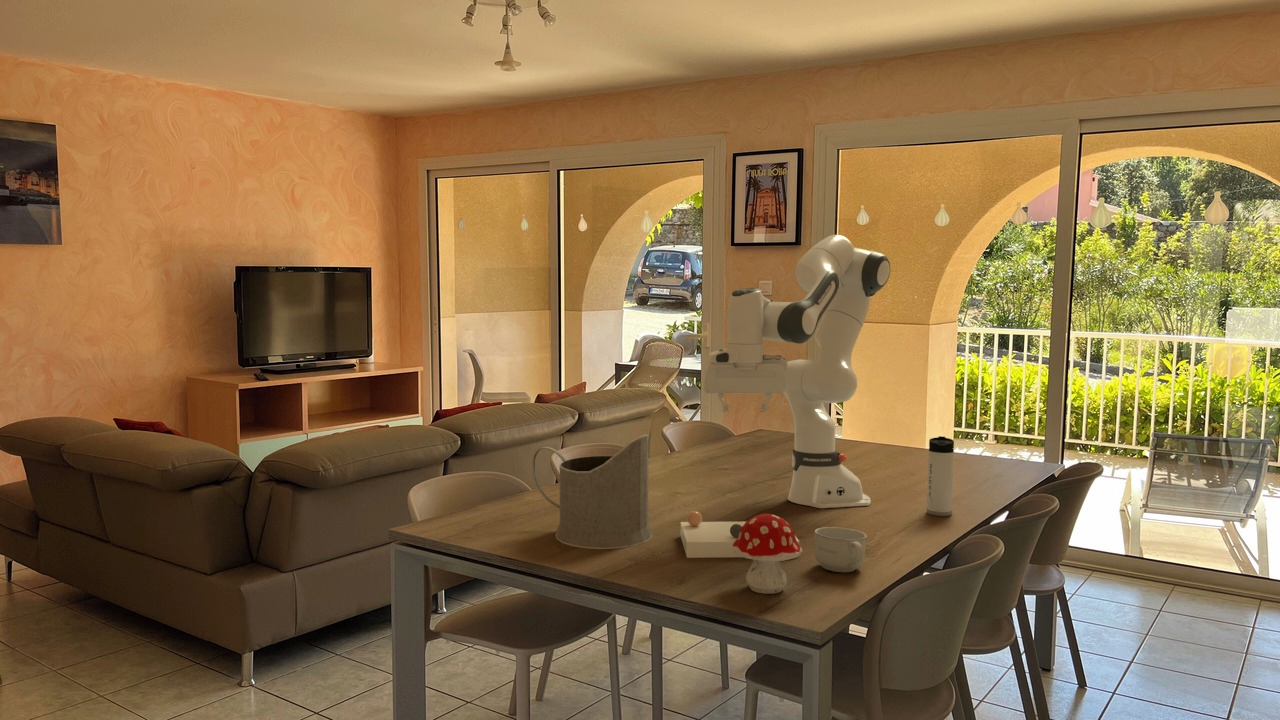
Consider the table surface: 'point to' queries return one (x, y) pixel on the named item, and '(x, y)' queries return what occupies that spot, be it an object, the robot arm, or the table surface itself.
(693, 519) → the terracotta ball
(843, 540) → the teacup
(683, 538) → the white slab
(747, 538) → the decorative mushroom
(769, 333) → the robot arm
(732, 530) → the black rubber ball
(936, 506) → the travel mug
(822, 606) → the table surface
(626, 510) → the pitcher
